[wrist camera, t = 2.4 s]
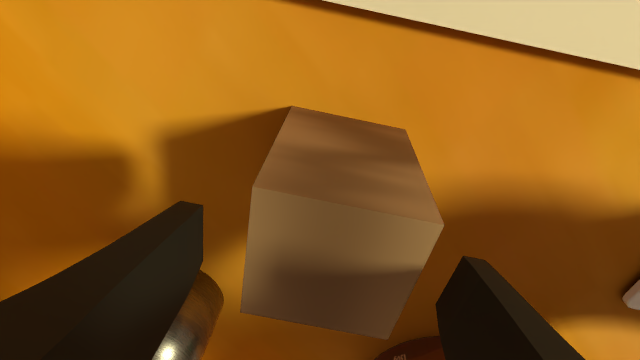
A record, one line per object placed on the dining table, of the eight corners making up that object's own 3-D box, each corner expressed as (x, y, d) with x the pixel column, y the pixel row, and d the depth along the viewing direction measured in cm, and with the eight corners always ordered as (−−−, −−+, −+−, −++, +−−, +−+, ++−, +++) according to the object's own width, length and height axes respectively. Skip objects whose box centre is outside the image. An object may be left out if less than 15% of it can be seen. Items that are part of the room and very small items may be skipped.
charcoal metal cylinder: (225, 271, 17) (184, 363, 13) (222, 327, 20) (187, 420, 16) (132, 253, 17) (60, 340, 13) (141, 312, 20) (83, 402, 15)
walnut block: (405, 129, 13) (444, 225, 7) (373, 219, 15) (387, 339, 10) (292, 105, 12) (252, 186, 7) (278, 200, 15) (240, 312, 10)
